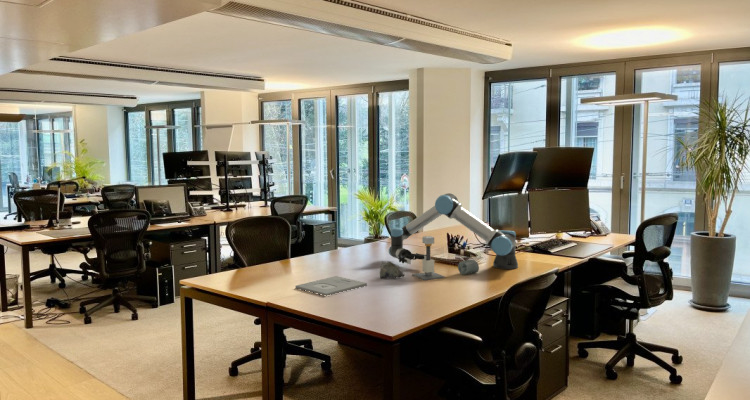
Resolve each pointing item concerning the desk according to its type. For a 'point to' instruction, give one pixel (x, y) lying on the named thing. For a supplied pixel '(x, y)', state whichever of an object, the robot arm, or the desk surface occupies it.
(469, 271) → the grey oval lump
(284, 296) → the desk surface
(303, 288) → the award plaque
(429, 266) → the sleeve
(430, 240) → the stand
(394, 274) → the mineral rock
